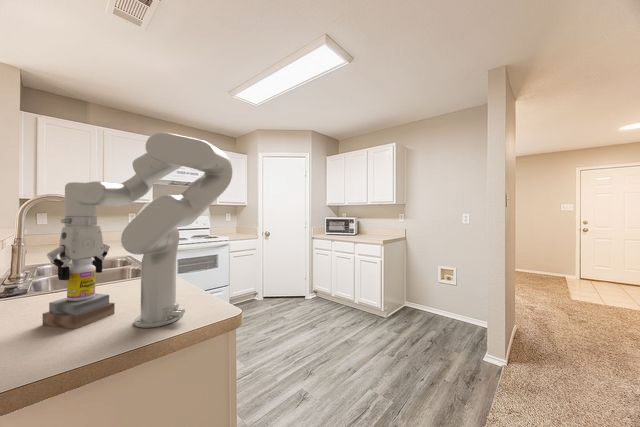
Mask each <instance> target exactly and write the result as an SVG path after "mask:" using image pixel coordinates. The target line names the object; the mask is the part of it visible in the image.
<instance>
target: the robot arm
mask: <svg viewBox="0 0 640 427" xmlns="http://www.w3.org/2000/svg"><path fill="white" fill-rule="evenodd" d="M145 151H146V152H145V153H143V154H142V155H140V156H138V157H136V158H135V159H134V160H133V161H132V169H133V171H134V173H135V174H134V175H133V176H132V177H131V178H129V179H127V180H126V181H125V180H124V181H123V182H121V183H115V182H106V181H89V182H78V181H77V182H76V181H73V182H68V183H66V184H65V185H64V217H63V218H61V219H60V222H61V224H64V226H63V227H62V229H61V232H60V236H59V237H60V238H59V243H58V244H59V245H58V247H57V248H55V249H53V250H52V251H50V252H47V254H46V256H47V258H48V259H49V261H50V263H51V264H53V265H54V266H55V267H56V268H57V278H58V280H59V281H67V280H69V268H70V266H68V265H69V264H70V263H71V262H72V259H74V260H76V259H83V258H89V257H92V261H91V265H94V266H95V267H96V273H98V274H100V273H103V261H104V260H105V258H106V256H108V252H109V250H110V249H111V247H110V245H107V244H105V243H104V241H103V240H104V238H103V234H102V230H101V226H100V225H98V207H124V206H128V205H130V204H132V203H134V202H136V201H138V200H139V199H140V198H143V197H144V196H146V194H148V193H149V192H150V191H151V189H152V187H153V186H154V184H155V183H156V182H158V181H159V180H161V179H163V178H164V177H166V176H168V175H170V174H172V173H173V172H175V171H177V170H178V169H180V168H182V167H185V168H189V169H194V170H196V171H200V172H203V175H201V177H198V178H197V179H196V180H194V181H193V182H192V183H190V185H189V186H188V187H187V188H185V190H183V191H182V192H181V193H179V194H178V195H177V194H176V195H174V194H165V195H161V196H159V197H157V198H155V199H154V200H152V201H151V202H150V203H149V204H147V206H145V207H144V209H142V210H141V212H139V213H138V214H137V215H136V216H135V217H134V218H133V219H132V220H131V221H130V222H129V223H128V224H127V225H126V227H125V228H124V229H123V232H122V233H121V237H120V241H121V245H122V247H123V249H124V250H125V251H126V252H127V253H130V254H132V255H137V256H138V255H139V256H140V255H141V256H142V259H141V265H140V314H139V315H138V316H136V317H135V318H134V320H133V322H134V326H135V327H138V328H145V329H147V328H148V329H150V328H157V327H162V326H166V325H169V324H173V323H175V322H177V321H178V320H179V319H181V318H183V316H184V314H185V313H186V308H180V307H179V306H180V305H179V303H176V302H177V299H176V298H177V297H176V296H177V291H176V290H177V258H178V257H177V255H178V247H179V244H180V232H179V229H178V228H180V227H188V226H191V225H192V224H193V223H194V222H195V221H196V220H197V219H198V218H200V216H201V215H202V214H203V213H204V212H205V211H206V210H207V209H208V208H209V207H210V206H211V205H212V204H213V203H214V202H215V201H216V200H217V199H218V198H219V197H220V196H221V195H222V194H223V193H224V192H225V191H226V190H227V188H228V187H229V185H230V184H231V182H232V179H233V166H232V162H231V160H230V159H229V156H227V154H226V153H225V152H223V151H222V150H221V149H219V148H218V147H216V146H214V145H213V144H211V143H209V142H208V141H206V140H202V139H199V138H194V137H189V136H183V135H179V134H175V133H172V132H171V133H170V132H165V131H164V132H163V131H161V132H156V133H154V134H152V135H150V136H149V137H148V138H147V140H146V142H145ZM58 255H59V258H58Z"/></svg>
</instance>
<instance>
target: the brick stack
mask: <svg viewBox="0 0 640 427" xmlns="http://www.w3.org/2000/svg"><path fill="white" fill-rule="evenodd" d="M115 304H116V303H115V302H110V294H103V293H95V296H94V297H92V298H90V299H87V300H82V301H68V300H67V297H65V298H61V299H57V300H54V301H53V300H52V301H51V302H49V303H48V311H46V312H43V313H42V326H46V327H54V328H60V329H61V328H62V329H63V328H64V329H68V330H69V329H70V330H71V329H72V330H76V329H79V328H82V327H84V326H86V325H89V324H92V323H94V322H96V321H99V320H102V319H104V318H107V317H110V316H112V315H115V312H116V311H115Z"/></svg>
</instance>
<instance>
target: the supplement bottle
mask: <svg viewBox="0 0 640 427" xmlns="http://www.w3.org/2000/svg"><path fill="white" fill-rule="evenodd" d="M92 262H93V257H89V258H83V259H76V260H74V259H72V260H71V263H72V266H69V280H66V282H67V283H66V298H67V300H68V301H82V300H87V299H90V298H92V297H94V296H95V294H96V277H97V276H96V267H95V266H94V265H92Z"/></svg>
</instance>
